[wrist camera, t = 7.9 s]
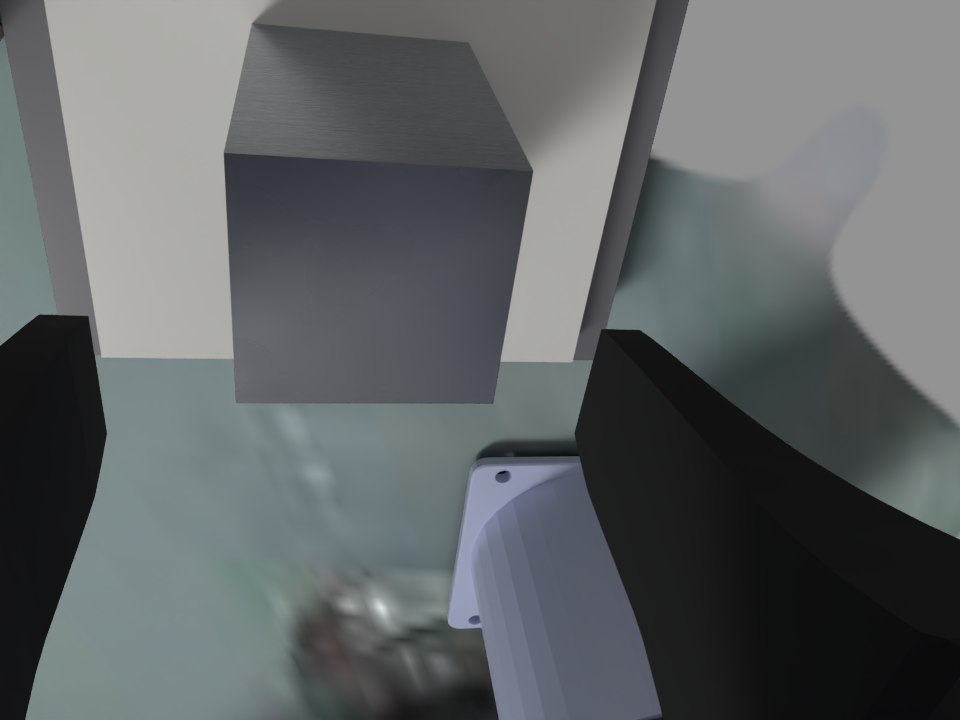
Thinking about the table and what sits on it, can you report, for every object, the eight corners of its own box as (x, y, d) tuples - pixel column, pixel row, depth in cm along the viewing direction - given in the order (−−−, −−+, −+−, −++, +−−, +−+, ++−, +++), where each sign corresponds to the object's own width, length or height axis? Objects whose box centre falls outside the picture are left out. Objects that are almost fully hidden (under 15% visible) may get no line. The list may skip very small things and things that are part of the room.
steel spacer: (468, 42, 16) (533, 170, 11) (446, 230, 18) (493, 403, 14) (252, 23, 15) (223, 153, 11) (257, 222, 18) (236, 402, 13)
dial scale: (723, -311, 16) (801, -320, 13) (578, 318, 24) (610, 388, 21) (-46, -452, 13) (-130, -496, 11) (83, 308, 21) (52, 386, 19)
